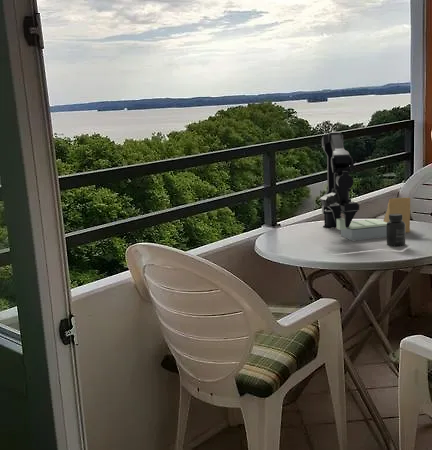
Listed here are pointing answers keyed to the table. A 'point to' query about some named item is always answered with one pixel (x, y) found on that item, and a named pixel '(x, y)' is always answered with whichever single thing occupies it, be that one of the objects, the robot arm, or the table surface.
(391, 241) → the supplement bottle
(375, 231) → the tub
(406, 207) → the sandwich container
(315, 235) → the table surface
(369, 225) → the lid
